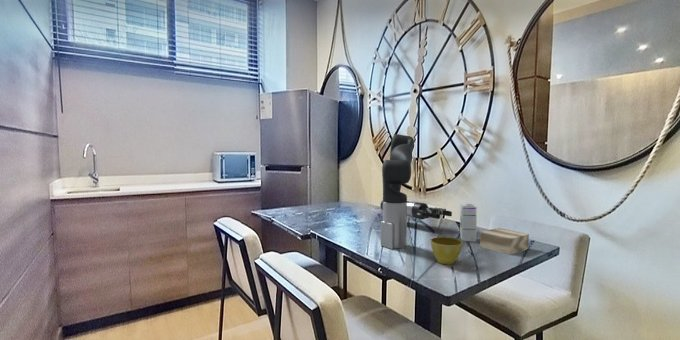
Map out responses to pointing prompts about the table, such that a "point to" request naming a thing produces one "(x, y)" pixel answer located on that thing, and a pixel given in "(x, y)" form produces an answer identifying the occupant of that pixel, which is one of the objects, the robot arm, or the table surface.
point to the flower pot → (446, 249)
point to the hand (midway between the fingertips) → (445, 215)
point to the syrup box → (468, 222)
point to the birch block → (504, 240)
